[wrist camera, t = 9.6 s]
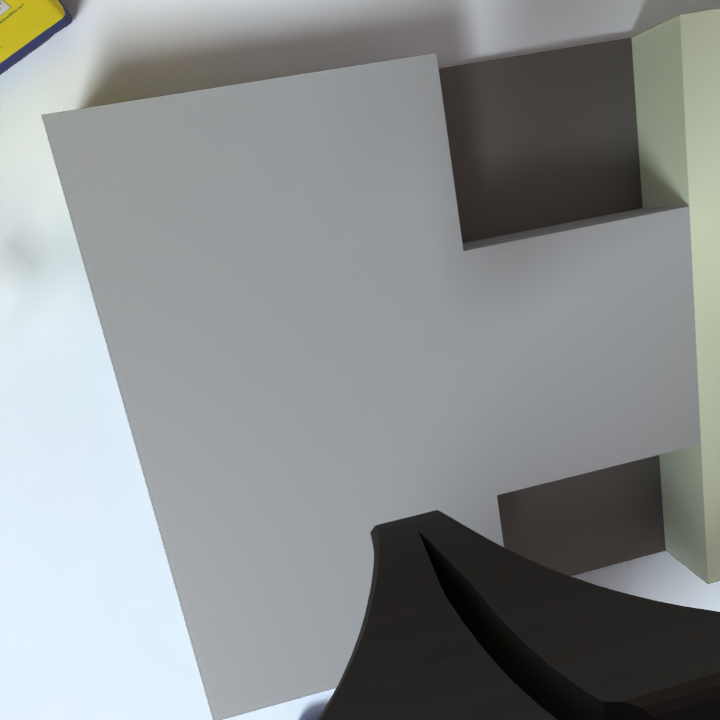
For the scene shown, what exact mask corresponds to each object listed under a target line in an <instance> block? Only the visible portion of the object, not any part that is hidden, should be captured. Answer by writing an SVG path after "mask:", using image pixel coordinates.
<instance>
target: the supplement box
mask: <svg viewBox="0 0 720 720" xmlns="http://www.w3.org/2000/svg"><path fill="white" fill-rule="evenodd" d="M71 22H72V18H71V15H70V14H69V13H68V11H67V10H66V9H65V7H64V6H63V4H62V3H61V1H60V0H0V74H2V73H3V72H5V71H6V70H8V69H9V68H10V67H11V66H13V65H14V64H16V63H17V62H19V61H20V60H22V59H23V58H24V57H26V56H27V55H28V54H29V53H31V52H32V51H34V50H35V49H37V48H38V47H39V46H41V45H42V44H43V43H45V42H46V41H47V40H48V39H50V38H51V37H52V36H53V35H54V34H55V33H57V32H59V31H60V30H61V29H63V28H64V27H66V26H68V25H69V24H70V23H71Z"/></svg>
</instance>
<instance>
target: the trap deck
mask: <svg viewBox="0 0 720 720" xmlns="http://www.w3.org/2000/svg"><path fill="white" fill-rule="evenodd" d="M42 119H43V122H44V126H45V129H46V133H47V136H48V140H49V143H50V147H51V150H52V154H53V157H54V161H55V164H56V168H57V171H58V175H59V178H60V182H61V185H62V189H63V193H64V196H65V200H66V203H67V207H68V210H69V214H70V217H71V221H72V224H73V228H74V231H75V235H76V238H77V242H78V245H79V249H80V252H81V256H82V260H83V263H84V267H85V270H86V274H87V277H88V281H89V284H90V288H91V291H92V295H93V298H94V302H95V305H96V309H97V312H98V316H99V319H100V323H101V326H102V330H103V334H104V337H105V341H106V344H107V348H108V351H109V355H110V358H111V362H112V365H113V369H114V372H115V376H116V379H117V383H118V386H119V390H120V393H121V397H122V401H123V404H124V408H125V411H126V415H127V418H128V422H129V425H130V429H131V432H132V436H133V439H134V443H135V446H136V450H137V453H138V457H139V460H140V464H141V467H142V471H143V475H144V478H145V482H146V485H147V489H148V492H149V496H150V499H151V503H152V506H153V510H154V513H155V517H156V520H157V524H158V527H159V531H160V534H161V538H162V542H163V545H164V549H165V552H166V556H167V559H168V563H169V566H170V570H171V573H172V577H173V580H174V584H175V587H176V591H177V594H178V598H179V601H180V605H181V608H182V612H183V616H184V619H185V623H186V626H187V630H188V633H189V637H190V640H191V644H192V647H193V651H194V654H195V658H196V661H197V665H198V668H199V672H200V675H201V679H202V683H203V686H204V690H205V693H206V697H207V700H208V704H209V707H210V711H211V714H212V718H213V720H223V719H226V718H230V717H234V716H237V715H241V714H244V713H248V712H251V711H255V710H259V709H262V708H266V707H269V706H273V705H277V704H280V703H284V702H287V701H291V700H294V699H298V698H302V697H305V696H309V695H312V694H316V693H319V692H323V691H327V690H330V689H334V688H337V686H338V684H339V682H340V680H341V678H342V675H343V673H344V671H345V669H346V666H347V664H348V662H349V659H350V657H351V655H352V652H353V650H354V647H355V644H356V641H357V639H358V636H359V633H360V630H361V626H362V623H363V619H364V616H365V612H366V607H367V603H368V598H369V594H370V589H371V583H372V574H373V565H374V550H373V545H372V539H371V534H370V532H371V531H372V529H373V528H374V526H375V525H379V524H383V523H387V522H391V521H395V520H399V519H403V518H407V517H411V516H415V515H419V514H423V513H427V512H431V511H435V510H439V511H440V512H442V513H444V514H446V515H448V516H449V517H451V518H453V519H454V520H456V521H458V522H459V523H461V524H463V525H465V526H466V527H468V528H470V529H471V530H473V531H475V532H477V533H478V534H480V535H482V536H484V537H486V538H487V539H489V540H491V541H493V542H495V543H497V544H498V545H500V546H502V547H504V548H506V549H508V550H510V551H512V552H514V553H516V554H518V555H520V556H523V557H525V558H527V559H529V560H531V561H534V562H536V563H538V564H540V565H543V566H545V567H547V568H550V569H552V570H555V571H557V572H560V573H562V574H565V575H568V576H572V575H576V574H580V573H583V572H587V571H591V570H595V569H598V568H602V567H606V566H609V565H613V564H617V563H621V562H624V561H628V560H632V559H635V558H639V557H643V556H647V555H650V554H654V553H658V552H661V551H665V550H666V551H667V552H668V553H670V554H671V555H672V556H673V557H675V558H676V559H677V560H678V561H680V562H681V563H682V564H683V565H685V566H686V567H687V568H688V569H690V570H691V571H692V572H693V573H695V574H696V575H697V576H698V577H700V578H701V579H702V580H704V581H705V582H706V583H707V584H710V583H714V582H717V581H720V8H719V9H712V10H706V11H699V12H693V13H687V14H680V15H678V16H676V17H674V18H672V19H670V20H668V21H666V22H663V23H661V24H659V25H657V26H655V27H653V28H651V29H649V30H647V31H645V32H643V33H641V34H639V35H636V36H634V37H632V38H628V39H622V40H615V41H609V42H603V43H597V44H591V45H584V46H578V47H572V48H566V49H559V50H553V51H547V52H541V53H534V54H528V55H522V56H516V57H510V58H503V59H497V60H491V61H485V62H478V63H472V64H466V65H460V66H453V67H447V68H441V69H439V68H438V61H437V54H436V53H432V54H426V55H419V56H413V57H407V58H400V59H394V60H388V61H381V62H375V63H369V64H362V65H356V66H349V67H343V68H337V69H330V70H324V71H318V72H311V73H305V74H299V75H292V76H286V77H279V78H273V79H267V80H260V81H254V82H248V83H241V84H235V85H229V86H222V87H216V88H209V89H203V90H197V91H190V92H184V93H178V94H171V95H165V96H159V97H152V98H146V99H140V100H133V101H127V102H120V103H114V104H108V105H101V106H95V107H89V108H82V109H76V110H70V111H63V112H57V113H50V114H44V115H42Z"/></svg>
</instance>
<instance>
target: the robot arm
mask: <svg viewBox="0 0 720 720" xmlns="http://www.w3.org/2000/svg"><path fill="white" fill-rule="evenodd" d="M370 534H371V539H372V545H373V550H374V565H373V574H372V583H371V589H370V594H369V598H368V603H367V607H366V612H365V616H364V619H363V623H362V626H361V630H360V633H359V636H358V639H357V641H356V644H355V647H354V650H353V652H352V655H351V657H350V659H349V662H348V664H347V666H346V669H345V671H344V673H343V675H342V678H341V680H340V682H339V684H338V686H337V688H336V690H335V692H334V694H333V696H332V697H331V699H330V701H329V702H328V704H327V706H326V707H325V709H324V711H323V712H322V714H321V716H320V717H319V719H317V720H720V612H716V611H710V610H704V609H697V608H691V607H684V606H679V605H674V604H669V603H664V602H659V601H654V600H650V599H646V598H642V597H638V596H634V595H630V594H625V593H621V592H617V591H614V590H610V589H607V588H604V587H600V586H597V585H594V584H591V583H588V582H585V581H582V580H579V579H576V578H574V577H571V576H568V575H565V574H562V573H560V572H557V571H555V570H552V569H550V568H547V567H545V566H543V565H540V564H538V563H536V562H534V561H531V560H529V559H527V558H525V557H523V556H520V555H518V554H516V553H514V552H512V551H510V550H508V549H506V548H504V547H502V546H500V545H498V544H497V543H495V542H493V541H491V540H489V539H487V538H486V537H484V536H482V535H480V534H478V533H477V532H475V531H473V530H471V529H470V528H468V527H466V526H465V525H463V524H461V523H459V522H458V521H456V520H454V519H453V518H451V517H449V516H448V515H446V514H444V513H442V512H440V511H439V510H435V511H431V512H427V513H423V514H419V515H415V516H411V517H407V518H403V519H399V520H395V521H391V522H387V523H383V524H379V525H375V526H374V528H373V529H372V531H371V532H370Z"/></svg>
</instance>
